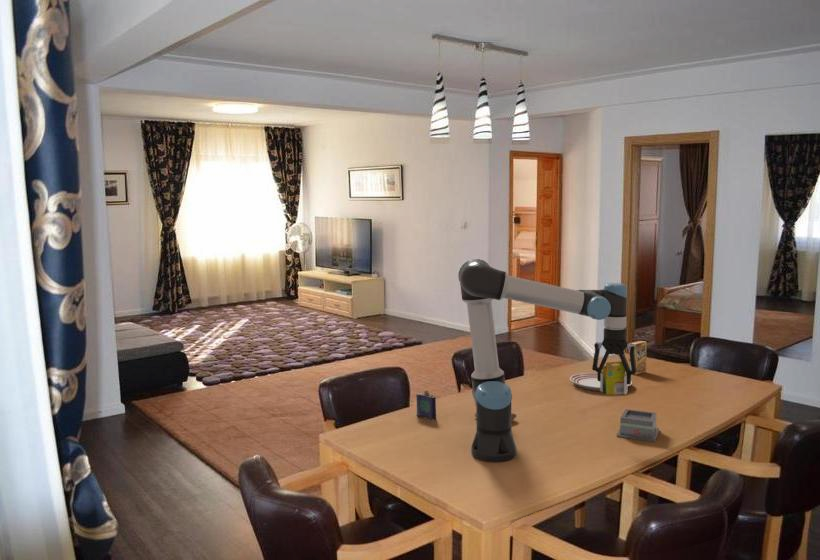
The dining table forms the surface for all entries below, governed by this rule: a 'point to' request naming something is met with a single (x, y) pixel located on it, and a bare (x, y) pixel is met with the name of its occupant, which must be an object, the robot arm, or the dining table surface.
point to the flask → (426, 405)
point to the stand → (638, 425)
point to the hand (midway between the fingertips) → (613, 391)
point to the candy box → (639, 356)
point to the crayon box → (613, 378)
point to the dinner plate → (588, 381)
